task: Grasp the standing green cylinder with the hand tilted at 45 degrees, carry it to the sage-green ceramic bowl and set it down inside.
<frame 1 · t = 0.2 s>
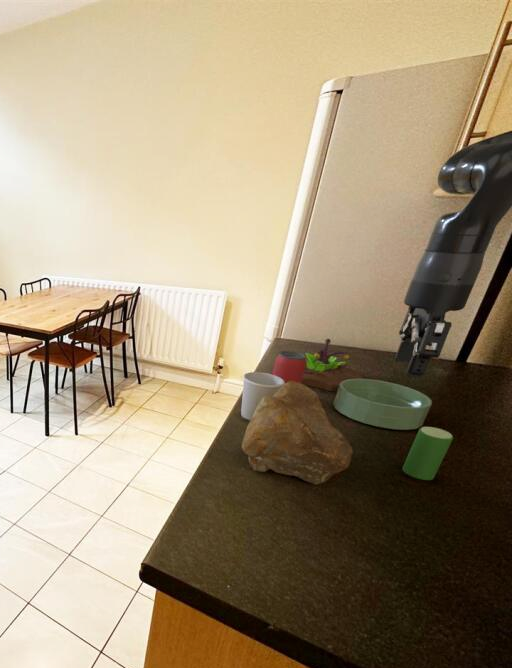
hand: (407, 368, 76), 19 cm above the kitchen counter, tool pointing down, fingers open, 8 cm apart
plant: (317, 377, 120), on the kitchen counter
green cylinder: (417, 473, 78), on the kitchen counter
dixie cup: (254, 416, 100), on the kitchen counter
rough brown rock: (288, 466, 82), on the kitchen counter
bowl: (375, 414, 99), on the kitchen counter
beer can: (280, 397, 109), on the kitchen counter
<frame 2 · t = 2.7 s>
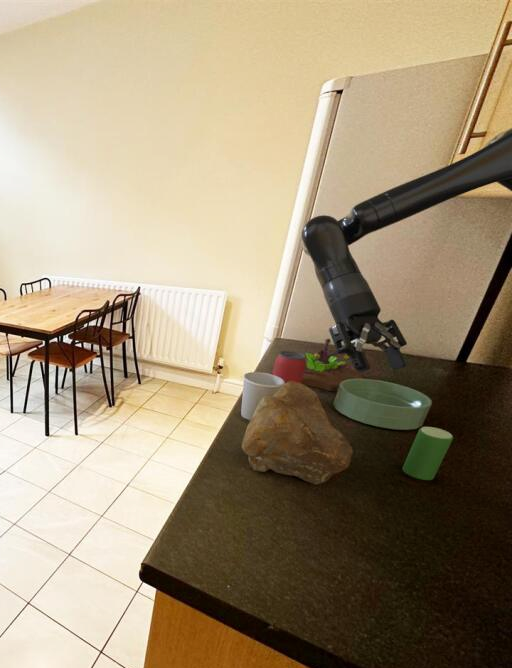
hand: (382, 369, 83), 16 cm above the kitchen counter, tool tilted 45°, fingers open, 8 cm apart
nothing on the kitchen counter moved.
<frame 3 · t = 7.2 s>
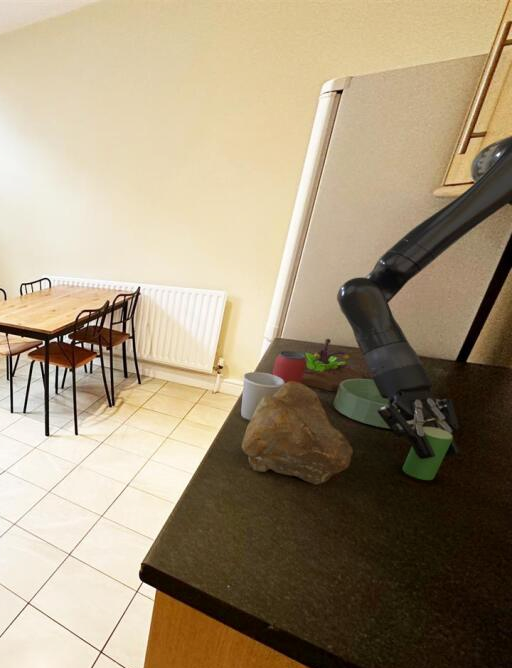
hand: (439, 456, 75), 5 cm above the kitchen counter, tool tilted 45°, fingers closed on green cylinder, 4 cm apart
green cylinder: (417, 473, 78), on the kitchen counter, touching gripper
everything else where it was.
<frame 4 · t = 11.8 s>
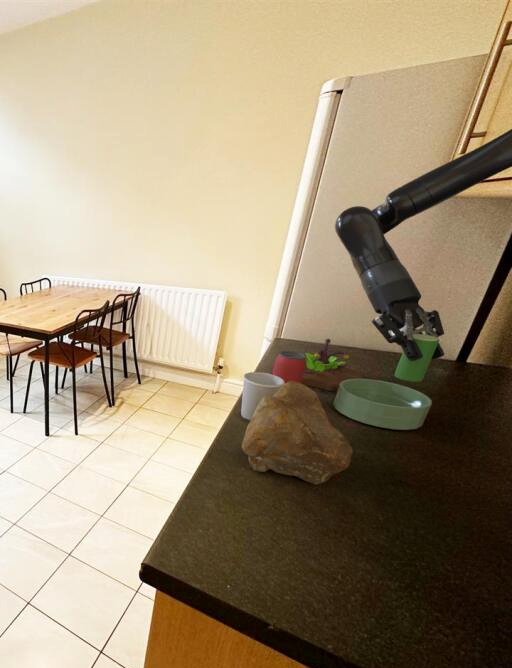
hand: (427, 358, 83), 18 cm above the kitchen counter, tool tilted 45°, fingers closed on green cylinder, 4 cm apart
green cylinder: (407, 377, 87), point 13 cm above the kitchen counter, touching gripper
everything else where it was.
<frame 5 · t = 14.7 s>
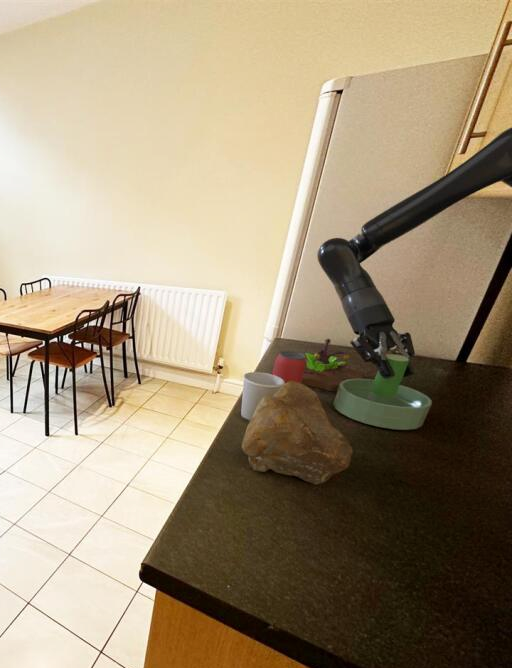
hand: (399, 376, 93), 11 cm above the kitchen counter, tool tilted 45°, fingers closed on green cylinder, 4 cm apart
green cylinder: (382, 392, 97), point 6 cm above the kitchen counter, touching gripper
everything else where it was.
when the fingers open (6 cm above the kitchen counter, at t = 16.7 s): green cylinder stays where it is, resting on bowl.
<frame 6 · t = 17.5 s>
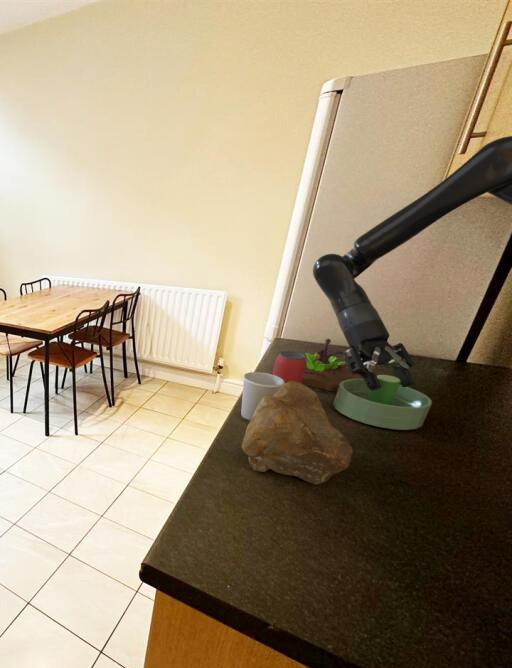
hand: (392, 387, 95), 8 cm above the kitchen counter, tool tilted 45°, fingers open, 8 cm apart
green cylinder: (375, 412, 99), point 1 cm above the kitchen counter, touching bowl
everything else where it was.
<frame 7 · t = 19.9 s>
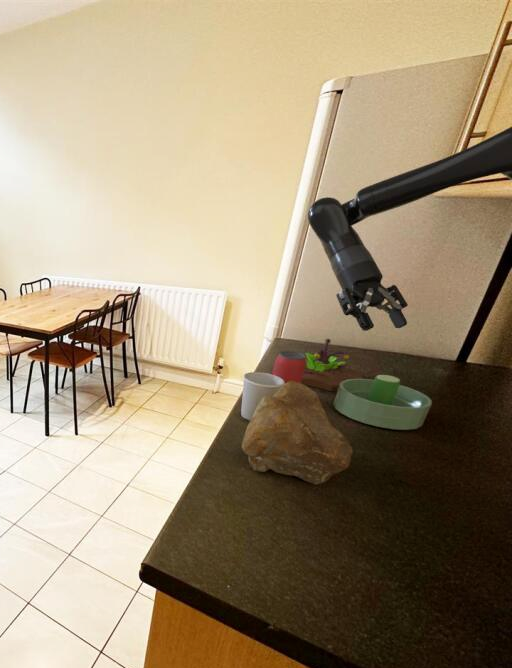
hand: (385, 327, 94), 21 cm above the kitchen counter, tool tilted 45°, fingers open, 8 cm apart
nothing on the kitchen counter moved.
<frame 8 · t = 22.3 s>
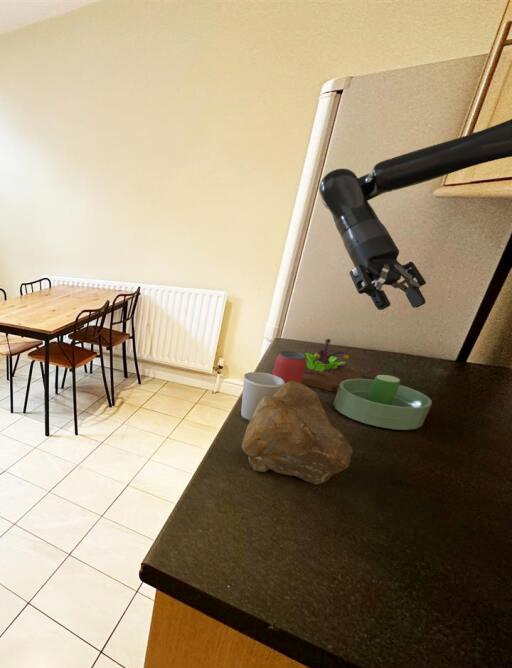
hand: (402, 306, 87), 27 cm above the kitchen counter, tool tilted 45°, fingers open, 8 cm apart
nothing on the kitchen counter moved.
at the end: green cylinder inside the target area in the bowl (0.1 cm from its centre), point 0.6 cm above the bowl's base; the gripper is holding nothing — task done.
